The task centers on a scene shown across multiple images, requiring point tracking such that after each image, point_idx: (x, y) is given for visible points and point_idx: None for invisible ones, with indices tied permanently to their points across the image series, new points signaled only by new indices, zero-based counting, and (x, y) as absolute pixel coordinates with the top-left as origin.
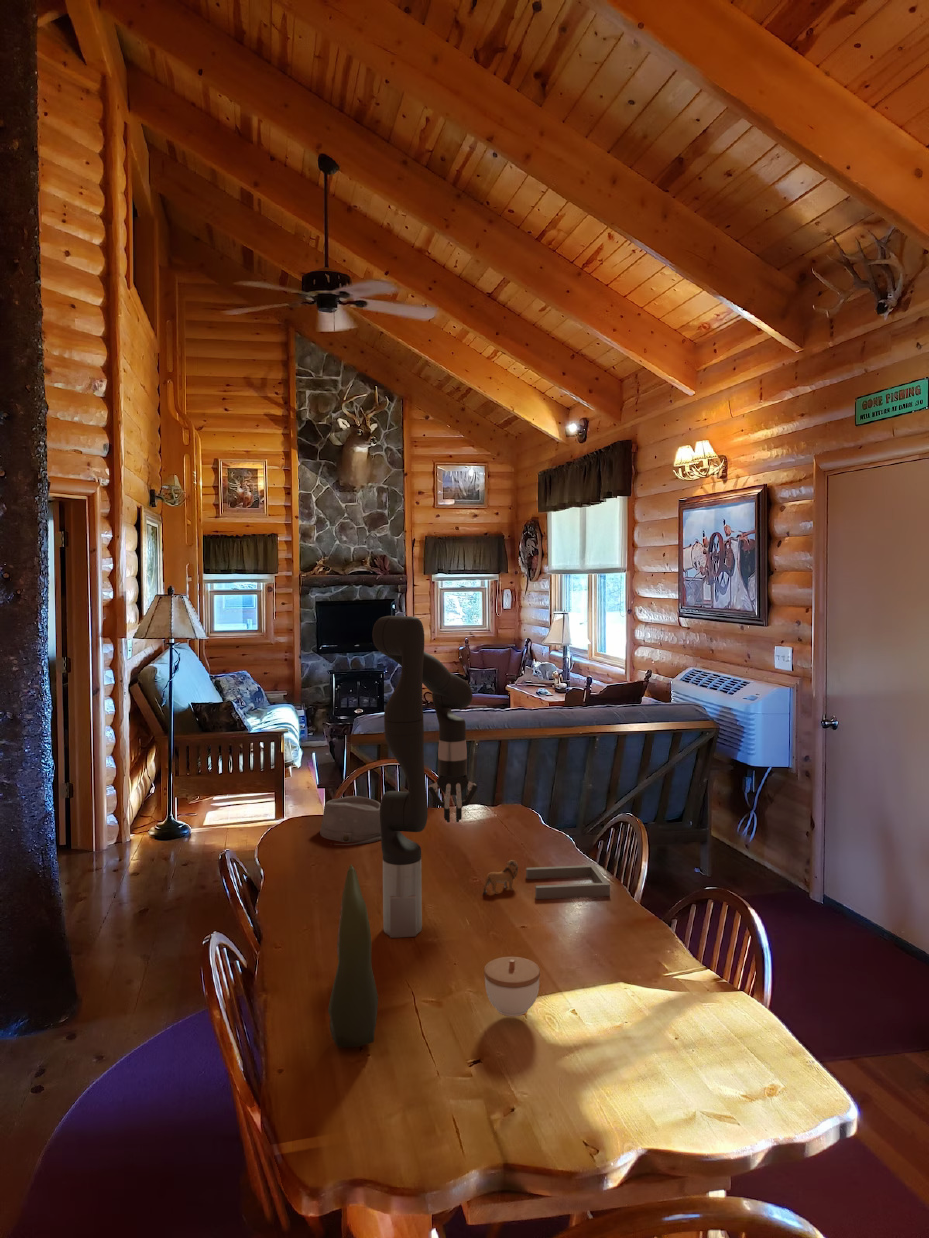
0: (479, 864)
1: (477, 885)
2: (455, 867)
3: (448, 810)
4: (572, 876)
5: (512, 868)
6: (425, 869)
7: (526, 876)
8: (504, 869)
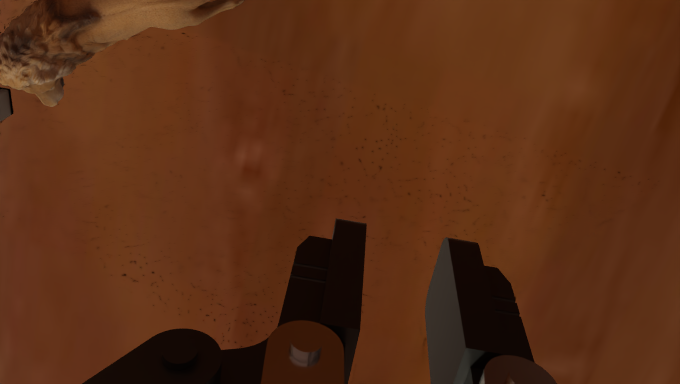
0: (200, 310)
1: (255, 96)
2: None
3: (482, 332)
4: None
5: (31, 16)
6: None
7: (5, 110)
8: (84, 38)
